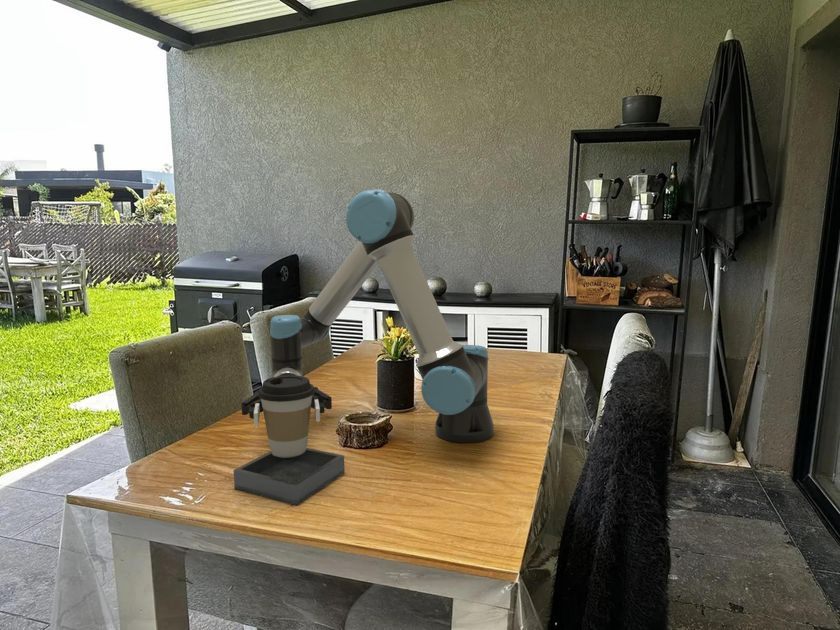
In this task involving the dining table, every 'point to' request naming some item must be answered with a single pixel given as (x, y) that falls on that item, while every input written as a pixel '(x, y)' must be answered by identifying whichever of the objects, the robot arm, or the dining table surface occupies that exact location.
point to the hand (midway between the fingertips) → (287, 417)
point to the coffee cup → (287, 413)
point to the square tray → (289, 475)
